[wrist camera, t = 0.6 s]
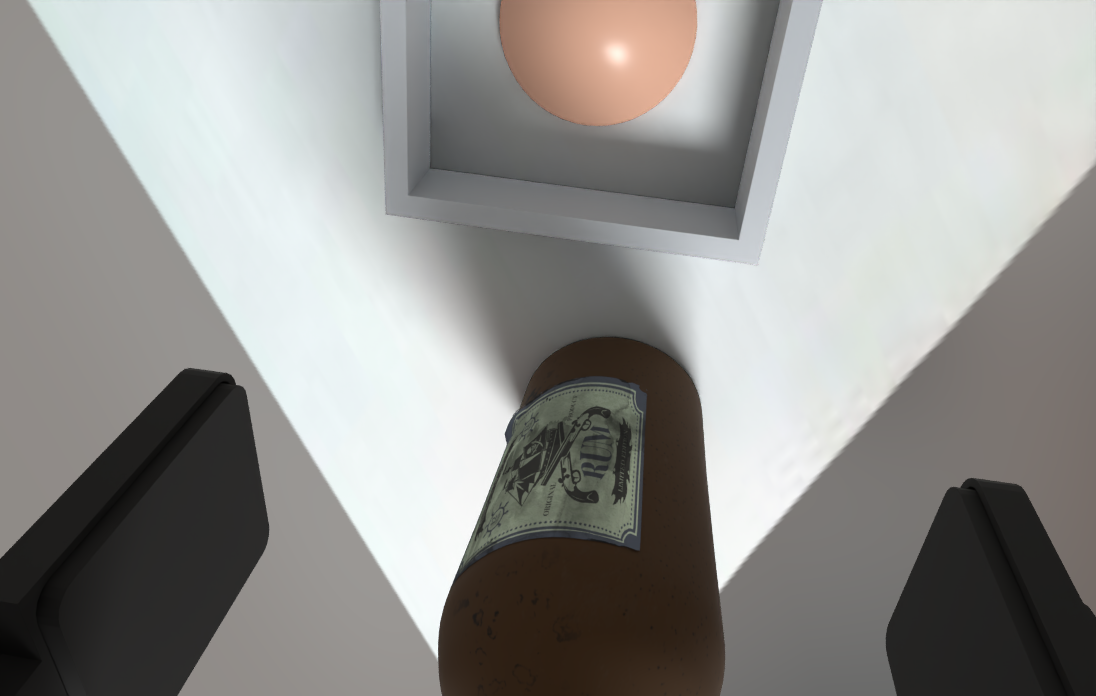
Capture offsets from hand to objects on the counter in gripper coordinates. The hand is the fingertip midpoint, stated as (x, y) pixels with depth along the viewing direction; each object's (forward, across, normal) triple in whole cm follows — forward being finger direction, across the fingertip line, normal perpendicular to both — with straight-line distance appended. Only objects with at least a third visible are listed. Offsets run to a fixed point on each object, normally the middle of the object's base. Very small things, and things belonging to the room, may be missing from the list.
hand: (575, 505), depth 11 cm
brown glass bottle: (+27, 0, +18) cm, 32 cm away
